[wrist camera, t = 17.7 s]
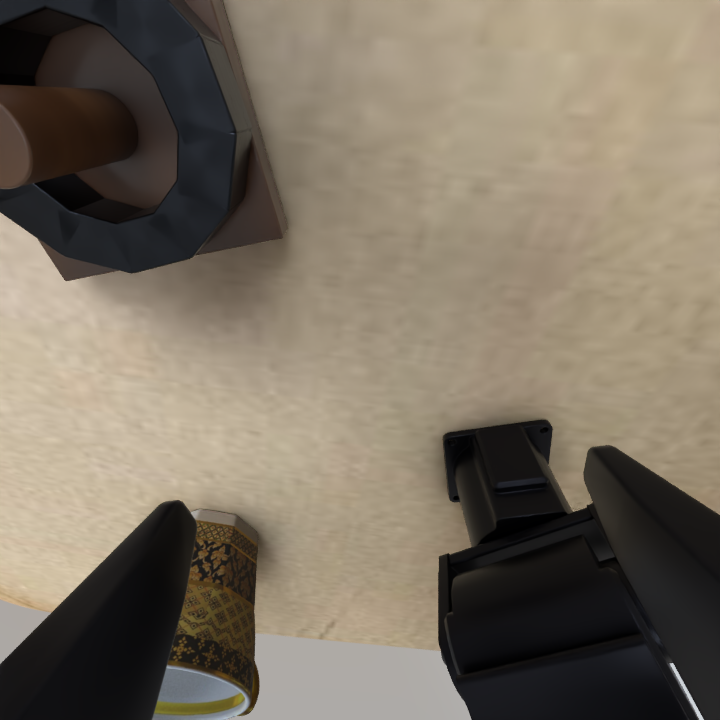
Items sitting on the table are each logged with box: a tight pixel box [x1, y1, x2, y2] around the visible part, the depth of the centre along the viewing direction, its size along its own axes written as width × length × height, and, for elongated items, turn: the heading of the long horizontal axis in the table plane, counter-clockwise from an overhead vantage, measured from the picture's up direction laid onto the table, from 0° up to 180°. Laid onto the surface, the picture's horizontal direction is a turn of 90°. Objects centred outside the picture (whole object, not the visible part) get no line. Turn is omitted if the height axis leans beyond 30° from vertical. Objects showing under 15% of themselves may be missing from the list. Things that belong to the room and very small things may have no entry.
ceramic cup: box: [152, 509, 259, 720], centre depth 27 cm, size 13×10×10 cm
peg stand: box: [0, 0, 288, 281], centre depth 12 cm, size 10×10×7 cm
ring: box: [0, 0, 252, 273], centre depth 13 cm, size 9×9×2 cm
